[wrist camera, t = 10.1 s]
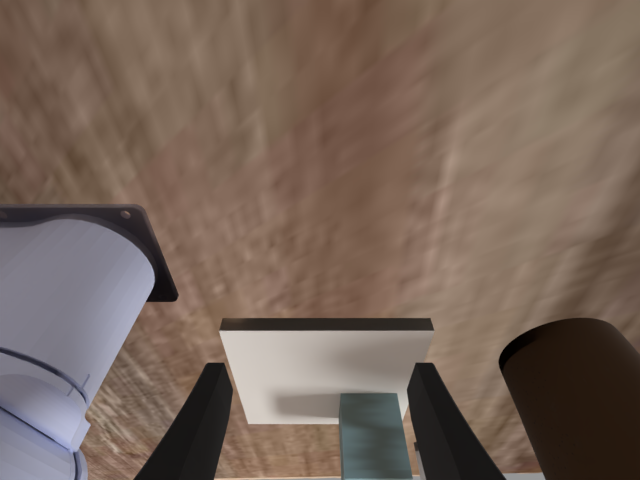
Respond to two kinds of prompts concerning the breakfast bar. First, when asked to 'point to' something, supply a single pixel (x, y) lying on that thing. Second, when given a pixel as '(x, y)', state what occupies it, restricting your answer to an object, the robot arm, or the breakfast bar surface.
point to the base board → (320, 363)
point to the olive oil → (577, 398)
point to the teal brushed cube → (372, 438)
